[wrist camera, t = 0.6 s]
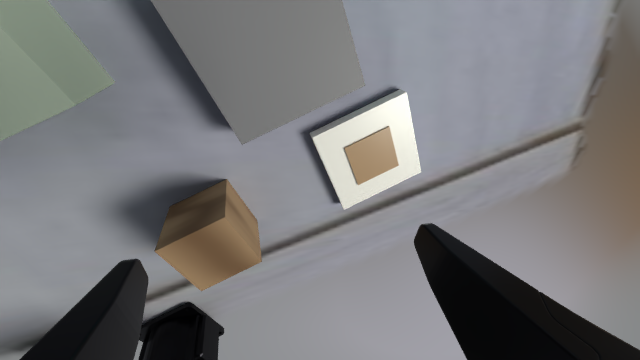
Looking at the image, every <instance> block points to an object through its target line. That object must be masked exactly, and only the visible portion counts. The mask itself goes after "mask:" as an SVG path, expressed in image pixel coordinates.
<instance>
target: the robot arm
mask: <svg viewBox="0 0 640 360" xmlns="http://www.w3.org/2000/svg"><path fill="white" fill-rule="evenodd" d="M414 245H415V248H416V251H417V254H418V256H419V259H420V261H421V264H422V267H423V269H424V272H425V274H426V277H427V280H428V282H429V284H430V287H431V289H432V291H433V293H434V295H435V297H436V299H437V301H438V303H439V305H440V307H441V309H442V311H443V313H444V315H445V317H446V319H447V321H448V323H449V325H450V326H451V329H452V331H453V332H454V334H455V336H456V338H457V340H458V342H459V344H460V346H461V348H462V350H463V352H464V354H465V356H466V358H467V360H640V350H638V349H637V348H635V347H633V346H631V345H630V344H628V343H626V342H624V341H623V340H621V339H619V338H617V337H616V336H614V335H612V334H610V333H608V332H607V331H605V330H603V329H601V328H600V327H598V326H596V325H594V324H593V323H591V322H589V321H587V320H585V319H584V318H582V317H581V316H579V315H577V314H575V313H573V312H572V311H570V310H569V309H567V308H566V307H564V306H562V305H560V304H559V303H557V302H556V301H554V300H553V299H551V298H549V297H548V296H546V295H545V294H543V293H541V292H539V291H538V290H536V289H535V288H533V287H532V286H530V285H529V284H527V283H526V282H524V281H523V280H521V279H519V278H518V277H516V276H515V275H513V274H512V273H510V272H508V271H507V270H505V269H504V268H502V267H501V266H499V265H497V264H496V263H494V262H493V261H491V260H489V259H488V258H486V257H485V256H483V255H482V254H480V253H478V252H477V251H475V250H474V249H472V248H471V247H469V246H467V245H466V244H464V243H462V242H461V241H460V240H458V239H456V238H455V237H453V236H452V235H450V234H449V233H447V232H445V231H444V230H442V229H441V228H439V227H438V226H436V225H434V224H432V223H428V224H422V225H420V227H419V229H418V231H417V234H416V236H415V239H414ZM147 287H148V276H147V273H146V271H145V269H144V268H143V266H142V264H141V262H140V260H138V259H130V260H123V261H121V262H119V263H118V264H117V265H116V266H115V267H114V268H113V269H112V270H111V271H110V272H109V273H108V274H107V275H106V276H105V277H104V278H103V279H102V280H101V281H100V282H99V283H98V284H97V285H96V286H95V287H94V288H93V289H92V290H91V291H89V292H88V293H87V294H86V295H85V296H84V297H83V298H82V299H81V300H80V301H79V302H78V303H77V304H76V305H75V306H74V307H73V308H72V309H71V310H70V311H69V312H68V313H67V314H66V315H65V316H64V317H63V318H62V319H61V320H60V321H59V322H58V323H57V324H56V325H55V326H54V327H53V328H52V329H50V330H49V331H48V332H47V333H46V334H45V335H44V336H43V337H42V338H41V339H40V340H39V341H38V342H37V343H36V344H35V345H34V346H33V347H32V348H31V349H30V350H29V351H28V352H27V353H26V354H25V355H24V356H23V357H22V358H21V359H20V360H133V359H134V356H135V352H136V348H137V345H138V341H139V340H140V341H142V342H143V345H142V349H141V352H140V356H139V360H218V341H219V336H221V335H223V334H224V328H223V327H222V326H221V325H219V324H218V323H217V322H216V321H214V320H213V319H212V318H210V317H209V316H208V315H207V314H205V313H204V312H203V311H201V310H200V309H199V308H198V307H196V306H195V305H194V304H192V303H187V304H185V305H183V306H181V307H178V308H176V309H174V310H172V311H170V312H168V313H166V314H164V315H162V316H160V317H158V318H156V319H154V320H152V321H150V322H148V323H146V324H144V325H142V319H143V313H144V306H145V300H146V294H147Z"/></svg>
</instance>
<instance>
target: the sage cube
mask: <svg viewBox="0 0 640 360" xmlns="http://www.w3.org/2000/svg"><path fill="white" fill-rule="evenodd" d="M114 83H115V82H114V81H113V79H112V78H111V77H110V76H109V75H108V73H107V72H106V71H105V70H104V68H103V67H102V66H101V65H100V64H99V62H98V61H97V60H96V59H95V58H94V56H93V55H92V54H91V53H90V51H89V50H88V49H87V48H86V47H85V45H84V44H83V43H82V42H81V41H80V39H79V38H78V37H77V36H76V35H75V33H74V32H73V31H72V30H71V28H70V27H69V26H68V25H67V24H66V22H65V21H64V20H63V19H62V18H61V16H60V15H59V14H58V13H57V12H56V10H55V9H54V8H53V7H52V5H51V4H50V3H49V2H48V1H47V0H0V141H2V140H4V139H6V138H8V137H10V136H12V135H14V134H16V133H19V132H21V131H23V130H25V129H27V128H29V127H31V126H33V125H35V124H38V123H40V122H42V121H44V120H46V119H48V118H50V117H52V116H54V115H57V114H59V113H61V112H63V111H65V110H67V109H69V108H71V107H73V106H76V105H77V104H79V103H81V102H83V101H84V100H86V99H88V98H90V97H91V96H93V95H95V94H96V93H98V92H100V91H102V90H103V89H105V88H107V87H109V86H110V85H112V84H114Z"/></svg>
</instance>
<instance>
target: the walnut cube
mask: <svg viewBox="0 0 640 360" xmlns="http://www.w3.org/2000/svg"><path fill="white" fill-rule="evenodd" d="M155 252H156V253H157V254H158V255H159V256H161V257H162V258H163V259H164V260H165V261H166V262H168V263H169V264H170V265H171V266H172V267H173V268H175V269H176V270H177V271H178V272H179V273H181V274H182V275H183V276H184V277H185V278H186V279H188V280H189V281H190V282H191V283H192V284H194V285H195V286H196V287H197V288H198V289H199V290H201V291H203V290H205V289H207V288H209V287H211V286H213V285H215V284H217V283H219V282H221V281H223V280H225V279H227V278H229V277H231V276H233V275H235V274H237V273H239V272H241V271H243V270H246V269H248V268H250V267H252V266H254V265H256V264H258V263H260V262H262V259H261V250H260V241H259V232H258V223H257V220H256V218H255V217H254V215H253V214H252V213H251V211H250V210H249V209H248V207H247V206H246V205H245V203H244V202H243V200H242V199H241V198H240V196H239V195H238V194H237V192H236V191H235V190H234V188H233V187H232V186H231V184H230V183H229V181H228V180H227V179H226V180H224V181H222V182H220V183H218V184H216V185H213V186H211V187H209V188H207V189H205V190H203V191H201V192H199V193H197V194H195V195H193V196H191V197H189V198H187V199H184V200H182V201H180V202H178V203H176V204H174V205H172V206H170V207H169V210H168V213H167V216H166V219H165V222H164V225H163V228H162V231H161V234H160V237H159V240H158V243H157V246H156V249H155Z"/></svg>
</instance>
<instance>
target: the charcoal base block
mask: <svg viewBox="0 0 640 360" xmlns="http://www.w3.org/2000/svg"><path fill="white" fill-rule="evenodd" d="M151 2H152V3H153V5H154V6H155V8H156V9H157V11H158V13H159V14H160V16H161V17H162V19H163V20H164V22H165V24H166V25H167V27H168V28H169V30H170V32H171V33H172V35H173V36H174V38H175V39H176V41H177V43H178V44H179V46H180V47H181V49H182V51H183V52H184V54H185V55H186V57H187V58H188V60H189V62H190V63H191V65H192V66H193V68H194V70H195V71H196V73H197V74H198V76H199V77H200V79H201V81H202V82H203V84H204V85H205V87H206V89H207V90H208V92H209V93H210V95H211V96H212V98H213V100H214V101H215V103H216V104H217V106H218V108H219V109H220V111H221V112H222V114H223V115H224V117H225V119H226V120H227V122H228V123H229V125H230V127H231V128H232V130H233V131H234V133H235V134H236V136H237V138H238V139H239V141H240V142H241V144H242V145H243V144H245V143H247V142H249V141H251V140H253V139H255V138H257V137H259V136H261V135H263V134H265V133H268V132H270V131H272V130H274V129H276V128H278V127H280V126H282V125H284V124H286V123H288V122H290V121H292V120H295V119H297V118H299V117H301V116H303V115H305V114H307V113H309V112H311V111H313V110H315V109H317V108H319V107H321V106H324V105H326V104H328V103H330V102H332V101H334V100H336V99H338V98H340V97H342V96H344V95H346V94H348V93H351V92H353V91H355V90H357V89H359V88H361V87H363V86H365V83H364V79H363V75H362V72H361V68H360V64H359V61H358V57H357V53H356V50H355V46H354V42H353V39H352V35H351V31H350V28H349V24H348V20H347V17H346V13H345V9H344V6H343V2H342V0H151Z"/></svg>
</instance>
